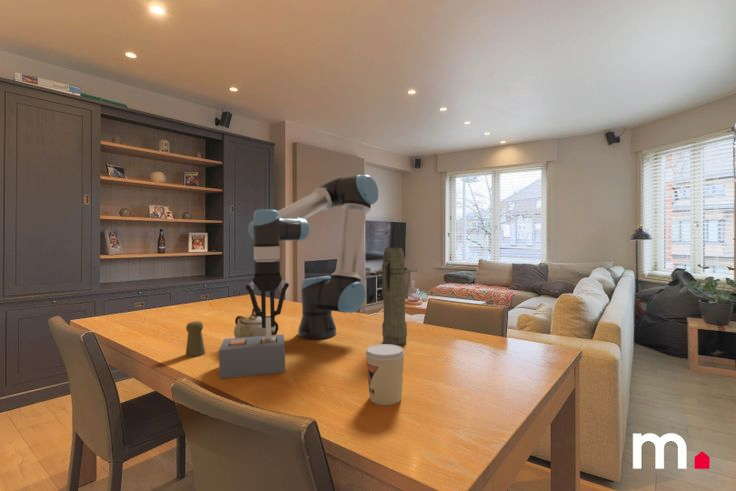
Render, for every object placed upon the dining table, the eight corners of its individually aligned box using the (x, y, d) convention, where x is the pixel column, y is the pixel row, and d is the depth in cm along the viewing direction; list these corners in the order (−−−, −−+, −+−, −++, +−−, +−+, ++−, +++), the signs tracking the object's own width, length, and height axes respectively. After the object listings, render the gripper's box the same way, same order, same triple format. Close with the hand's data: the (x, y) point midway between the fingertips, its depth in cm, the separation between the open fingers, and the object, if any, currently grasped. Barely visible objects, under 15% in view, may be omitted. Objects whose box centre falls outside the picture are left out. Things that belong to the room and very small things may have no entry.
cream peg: (276, 362, 117) (275, 336, 117) (276, 366, 113) (275, 340, 113) (262, 363, 116) (262, 337, 116) (262, 367, 112) (261, 341, 112)
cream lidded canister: (364, 391, 95) (364, 344, 95) (401, 389, 96) (400, 342, 96) (368, 407, 86) (367, 356, 86) (408, 405, 87) (407, 354, 87)
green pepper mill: (197, 357, 124) (196, 324, 124) (181, 356, 125) (180, 323, 125) (208, 351, 130) (208, 320, 130) (193, 351, 131) (192, 319, 131)
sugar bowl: (292, 345, 136) (291, 304, 135) (263, 358, 123) (262, 312, 122) (251, 339, 145) (250, 300, 144) (220, 350, 131) (219, 308, 131)
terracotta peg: (245, 365, 115) (245, 339, 114) (244, 369, 111) (244, 342, 111) (231, 366, 114) (231, 340, 113) (230, 370, 110) (229, 343, 110)
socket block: (283, 358, 121) (283, 334, 121) (285, 371, 110) (284, 344, 110) (224, 364, 117) (224, 338, 117) (219, 378, 105) (218, 350, 105)
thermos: (375, 344, 135) (374, 247, 134) (391, 336, 145) (390, 246, 144) (397, 348, 131) (396, 248, 130) (412, 340, 141) (411, 246, 140)
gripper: (288, 259, 119) (289, 333, 119) (245, 260, 116) (247, 336, 116) (289, 260, 111) (291, 339, 112) (243, 262, 108) (245, 343, 109)
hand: (268, 338), depth 114 cm, fingers closed
